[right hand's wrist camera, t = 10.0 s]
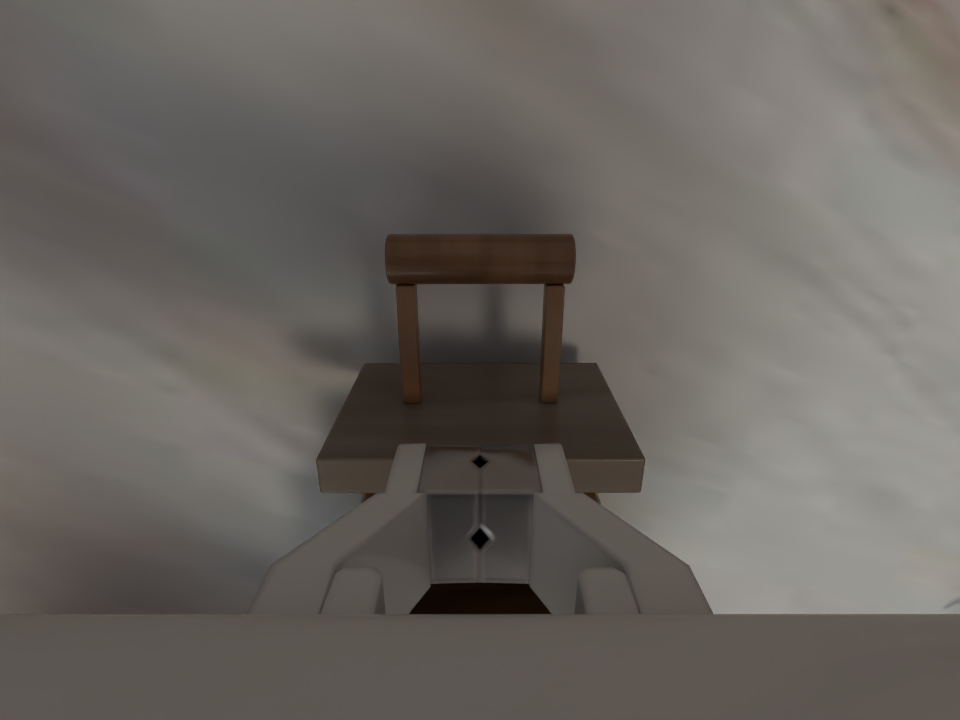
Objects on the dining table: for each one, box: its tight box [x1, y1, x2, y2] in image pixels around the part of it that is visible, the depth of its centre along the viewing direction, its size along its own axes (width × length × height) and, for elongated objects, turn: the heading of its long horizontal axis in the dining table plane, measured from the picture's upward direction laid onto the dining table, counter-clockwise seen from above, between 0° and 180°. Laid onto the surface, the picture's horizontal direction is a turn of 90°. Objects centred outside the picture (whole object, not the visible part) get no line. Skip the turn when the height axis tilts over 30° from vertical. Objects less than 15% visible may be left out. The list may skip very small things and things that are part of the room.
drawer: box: [316, 234, 645, 614], centre depth 20 cm, size 17×9×7 cm, turn 0°
